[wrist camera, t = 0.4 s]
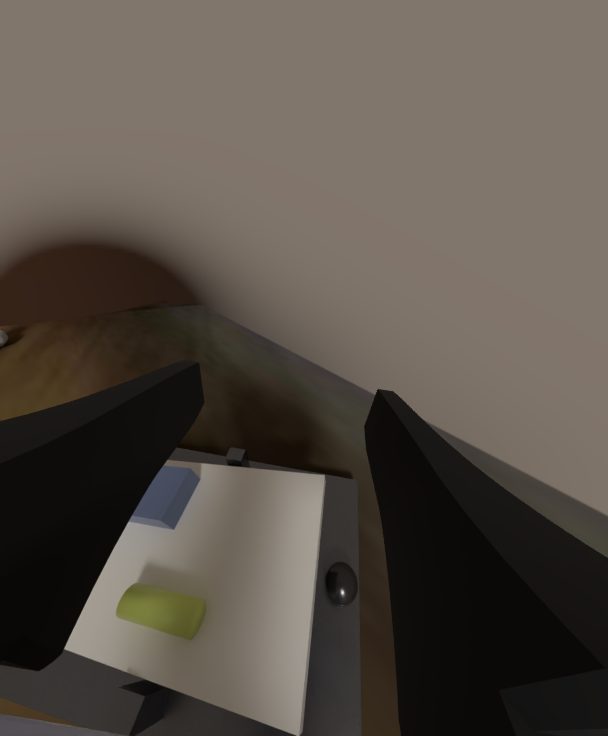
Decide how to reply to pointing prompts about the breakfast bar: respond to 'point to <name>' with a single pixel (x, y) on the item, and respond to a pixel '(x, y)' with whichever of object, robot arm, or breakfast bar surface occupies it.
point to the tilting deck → (214, 589)
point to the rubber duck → (3, 338)
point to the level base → (199, 718)
